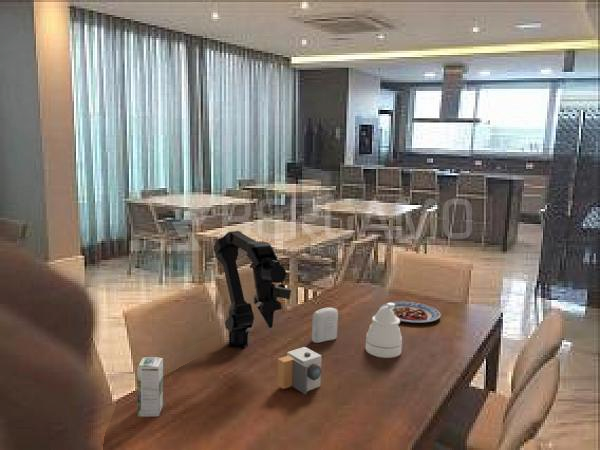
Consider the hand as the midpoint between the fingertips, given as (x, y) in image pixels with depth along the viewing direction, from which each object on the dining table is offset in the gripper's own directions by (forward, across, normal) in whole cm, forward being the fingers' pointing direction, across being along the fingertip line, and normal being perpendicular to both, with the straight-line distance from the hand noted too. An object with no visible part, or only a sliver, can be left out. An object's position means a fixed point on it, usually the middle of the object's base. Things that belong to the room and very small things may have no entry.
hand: (270, 327), depth 166 cm
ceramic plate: (+18, +37, -67) cm, 79 cm away
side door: (+15, -18, -1) cm, 24 cm away
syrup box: (+11, -21, +39) cm, 46 cm away
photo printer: (+14, +18, -22) cm, 32 cm away
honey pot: (+18, +6, -40) cm, 45 cm away
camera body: (+16, -14, -5) cm, 22 cm away
